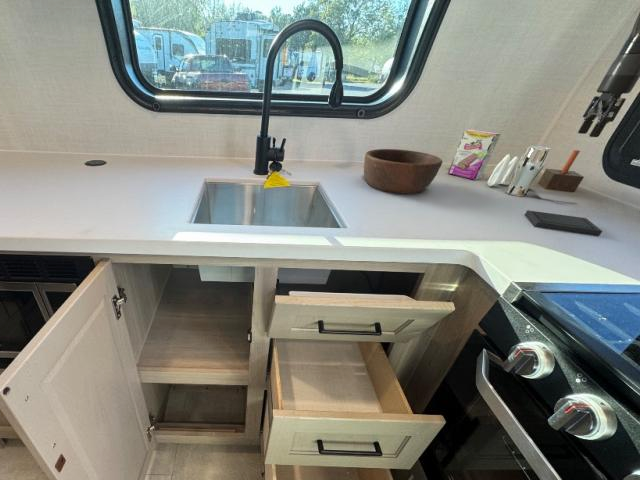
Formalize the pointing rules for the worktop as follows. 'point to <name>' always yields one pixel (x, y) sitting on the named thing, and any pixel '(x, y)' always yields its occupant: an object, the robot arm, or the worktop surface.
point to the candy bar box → (473, 154)
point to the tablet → (561, 227)
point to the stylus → (570, 161)
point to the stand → (560, 180)
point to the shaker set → (503, 171)
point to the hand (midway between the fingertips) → (587, 135)
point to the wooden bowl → (400, 170)
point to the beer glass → (528, 169)
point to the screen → (562, 220)
